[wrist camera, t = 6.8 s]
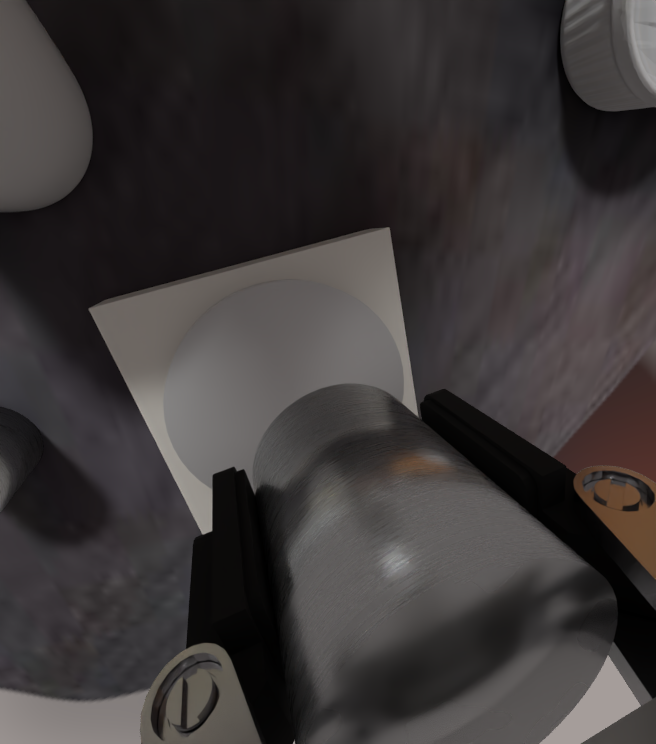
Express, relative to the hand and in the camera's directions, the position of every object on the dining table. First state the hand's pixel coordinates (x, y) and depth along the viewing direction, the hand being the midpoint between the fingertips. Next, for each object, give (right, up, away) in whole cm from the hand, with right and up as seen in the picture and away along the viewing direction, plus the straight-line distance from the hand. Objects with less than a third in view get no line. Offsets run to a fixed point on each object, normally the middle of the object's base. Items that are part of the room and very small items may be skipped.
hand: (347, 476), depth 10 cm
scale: (-3, 0, +16) cm, 16 cm away
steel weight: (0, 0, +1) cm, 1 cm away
